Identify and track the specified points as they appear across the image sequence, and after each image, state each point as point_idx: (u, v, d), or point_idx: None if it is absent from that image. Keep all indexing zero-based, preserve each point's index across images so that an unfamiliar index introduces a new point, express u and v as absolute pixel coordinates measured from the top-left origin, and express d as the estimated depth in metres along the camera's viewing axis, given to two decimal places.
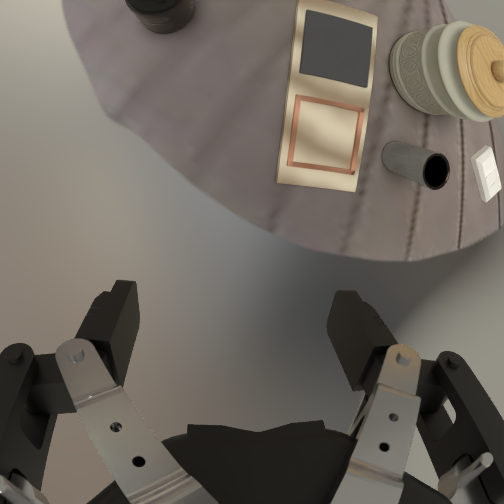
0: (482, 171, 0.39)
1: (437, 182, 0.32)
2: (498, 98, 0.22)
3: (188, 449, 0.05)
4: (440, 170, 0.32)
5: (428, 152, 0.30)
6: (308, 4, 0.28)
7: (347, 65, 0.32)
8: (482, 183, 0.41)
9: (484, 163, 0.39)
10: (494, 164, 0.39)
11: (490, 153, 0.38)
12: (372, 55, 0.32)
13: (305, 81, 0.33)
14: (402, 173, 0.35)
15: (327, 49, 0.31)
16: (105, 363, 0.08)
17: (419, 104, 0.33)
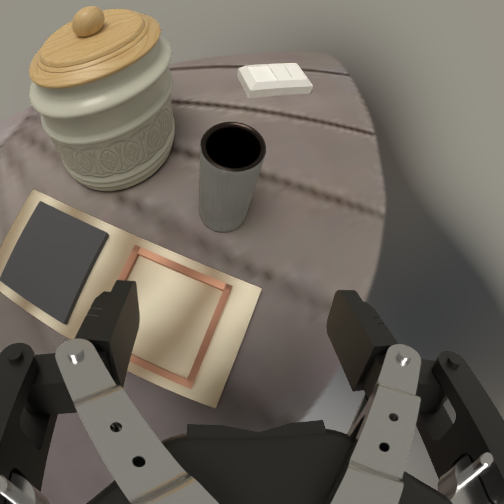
0: (267, 84, 0.34)
1: (255, 147, 0.21)
2: (125, 29, 0.17)
3: (188, 449, 0.05)
4: (238, 139, 0.22)
5: None
6: None
7: (71, 253, 0.24)
8: (285, 86, 0.35)
9: (257, 79, 0.35)
10: (262, 66, 0.36)
11: (245, 69, 0.35)
12: (73, 211, 0.26)
13: (80, 320, 0.23)
14: (240, 205, 0.25)
15: (45, 274, 0.23)
16: (105, 363, 0.08)
17: (147, 157, 0.27)
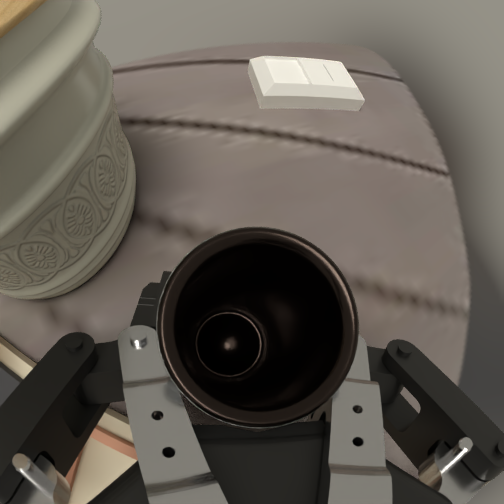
0: (293, 87, 0.21)
1: (323, 302, 0.08)
2: None
3: None
4: (270, 266, 0.08)
5: None
6: None
7: None
8: (321, 94, 0.21)
9: (278, 78, 0.21)
10: (288, 60, 0.22)
11: (261, 61, 0.21)
12: None
13: None
14: None
15: None
16: None
17: (78, 254, 0.13)
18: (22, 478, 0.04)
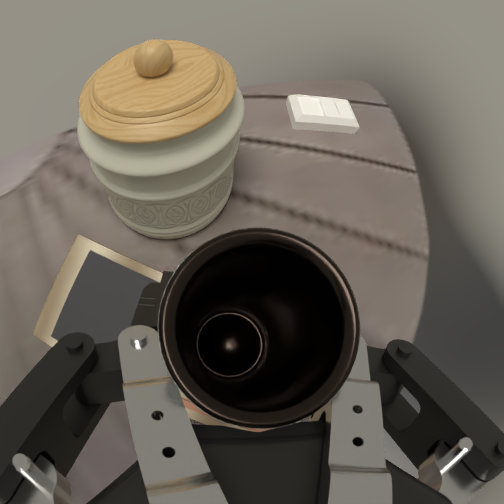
0: (313, 117, 0.35)
1: (324, 303, 0.08)
2: (200, 74, 0.17)
3: None
4: (271, 267, 0.08)
5: None
6: (46, 329, 0.23)
7: None
8: (331, 122, 0.36)
9: (305, 110, 0.35)
10: (312, 98, 0.36)
11: (295, 98, 0.36)
12: (130, 262, 0.27)
13: None
14: None
15: (107, 332, 0.24)
16: None
17: (212, 208, 0.27)
18: (22, 478, 0.04)
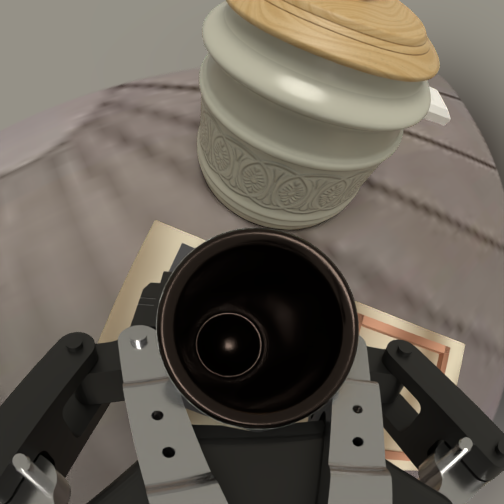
0: None
1: (323, 304, 0.08)
2: (407, 15, 0.10)
3: None
4: (270, 267, 0.08)
5: None
6: None
7: None
8: None
9: None
10: None
11: None
12: None
13: None
14: None
15: None
16: None
17: None
18: (22, 478, 0.04)
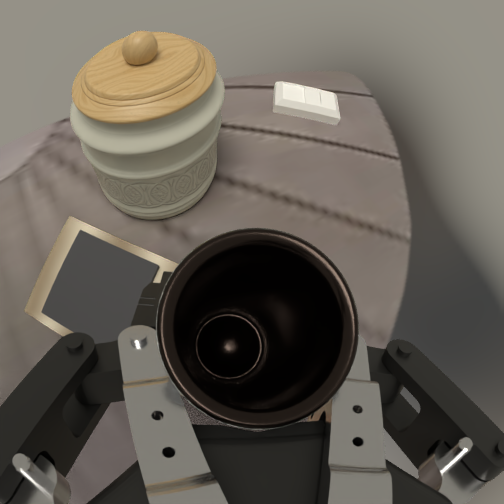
0: (293, 103, 0.36)
1: (323, 304, 0.08)
2: (182, 61, 0.18)
3: None
4: (269, 267, 0.08)
5: None
6: (37, 305, 0.24)
7: (122, 286, 0.26)
8: (310, 110, 0.37)
9: (287, 96, 0.37)
10: (298, 86, 0.37)
11: (280, 84, 0.37)
12: (117, 241, 0.28)
13: None
14: None
15: (94, 307, 0.25)
16: None
17: (195, 188, 0.28)
18: (22, 478, 0.04)
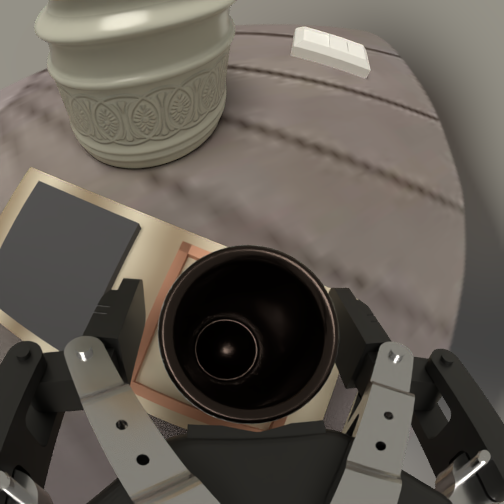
0: (315, 46, 0.27)
1: (307, 312, 0.08)
2: None
3: (188, 449, 0.05)
4: (260, 279, 0.09)
5: None
6: None
7: (84, 254, 0.16)
8: (336, 56, 0.28)
9: (308, 40, 0.28)
10: (321, 34, 0.28)
11: (301, 29, 0.28)
12: (85, 195, 0.18)
13: None
14: None
15: (45, 285, 0.15)
16: (113, 360, 0.08)
17: (197, 120, 0.19)
18: (6, 497, 0.03)
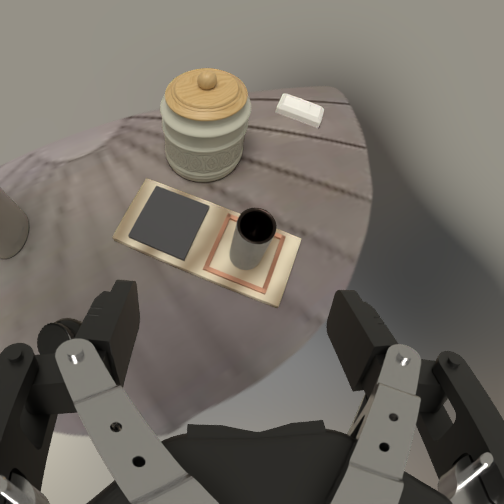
0: (289, 108, 0.55)
1: (269, 224, 0.36)
2: (230, 89, 0.36)
3: (188, 449, 0.05)
4: (258, 217, 0.37)
5: (235, 230, 0.35)
6: (123, 233, 0.42)
7: (186, 217, 0.44)
8: (300, 115, 0.55)
9: (286, 103, 0.55)
10: (296, 98, 0.56)
11: (285, 95, 0.56)
12: (181, 193, 0.46)
13: (193, 257, 0.43)
14: (259, 257, 0.39)
15: (168, 230, 0.43)
16: (105, 363, 0.08)
17: (231, 162, 0.46)
18: (4, 501, 0.03)
